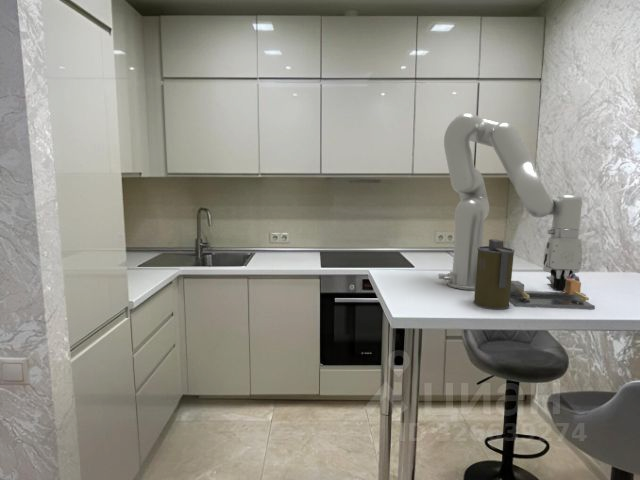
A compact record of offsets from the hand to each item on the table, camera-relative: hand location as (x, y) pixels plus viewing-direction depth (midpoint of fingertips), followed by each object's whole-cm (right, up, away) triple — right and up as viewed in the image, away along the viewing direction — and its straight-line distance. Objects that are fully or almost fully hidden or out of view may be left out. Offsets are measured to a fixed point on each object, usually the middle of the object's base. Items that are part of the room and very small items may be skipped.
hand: (558, 289), depth 138 cm
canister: (-25, -4, -7) cm, 26 cm away
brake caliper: (+9, -1, +14) cm, 17 cm away
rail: (-4, -3, +1) cm, 5 cm away
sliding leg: (+4, -2, -3) cm, 5 cm away
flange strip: (-6, -4, -6) cm, 9 cm away
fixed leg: (-14, -2, -2) cm, 14 cm away
